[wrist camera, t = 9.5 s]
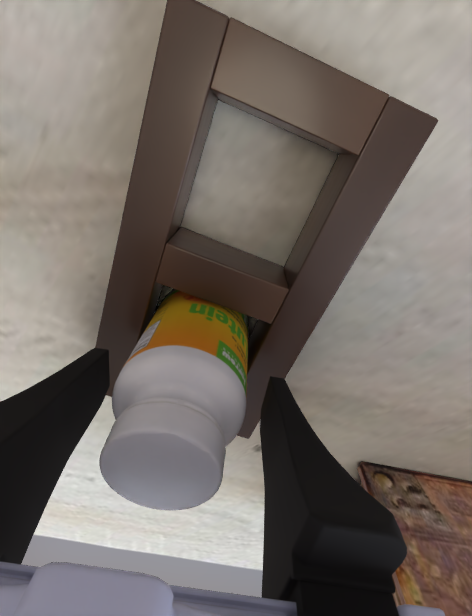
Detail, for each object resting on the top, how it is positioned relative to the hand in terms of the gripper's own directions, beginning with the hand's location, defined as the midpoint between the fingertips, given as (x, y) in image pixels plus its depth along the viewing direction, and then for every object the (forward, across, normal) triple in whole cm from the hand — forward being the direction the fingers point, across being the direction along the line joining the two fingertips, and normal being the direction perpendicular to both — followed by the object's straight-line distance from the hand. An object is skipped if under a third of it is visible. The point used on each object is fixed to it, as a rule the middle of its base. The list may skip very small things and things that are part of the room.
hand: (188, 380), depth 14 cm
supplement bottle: (+5, 0, 0) cm, 5 cm away
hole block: (+5, -1, -4) cm, 6 cm away
